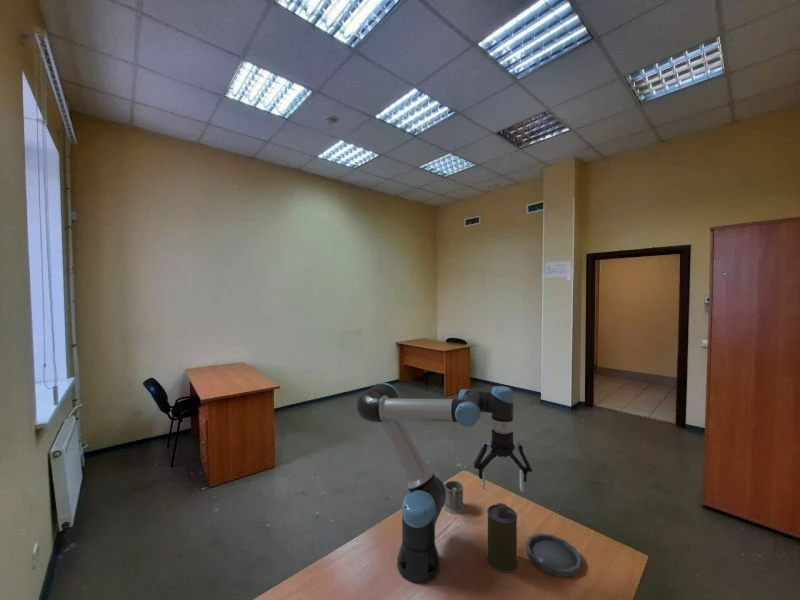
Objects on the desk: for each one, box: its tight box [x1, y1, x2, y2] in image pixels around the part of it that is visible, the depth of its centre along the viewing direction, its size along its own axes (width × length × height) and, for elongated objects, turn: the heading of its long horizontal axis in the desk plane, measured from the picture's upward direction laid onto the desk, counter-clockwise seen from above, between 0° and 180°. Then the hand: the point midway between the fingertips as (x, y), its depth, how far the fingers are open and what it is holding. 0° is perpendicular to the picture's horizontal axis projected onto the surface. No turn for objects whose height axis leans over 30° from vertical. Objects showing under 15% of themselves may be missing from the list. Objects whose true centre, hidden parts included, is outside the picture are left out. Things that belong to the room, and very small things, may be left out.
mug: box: [442, 480, 466, 515], centre depth 149 cm, size 14×10×12 cm
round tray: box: [525, 533, 582, 578], centre depth 122 cm, size 18×18×2 cm
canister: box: [486, 502, 518, 573], centre depth 120 cm, size 11×10×20 cm
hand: (502, 488), depth 120 cm, fingers open, 13 cm apart
